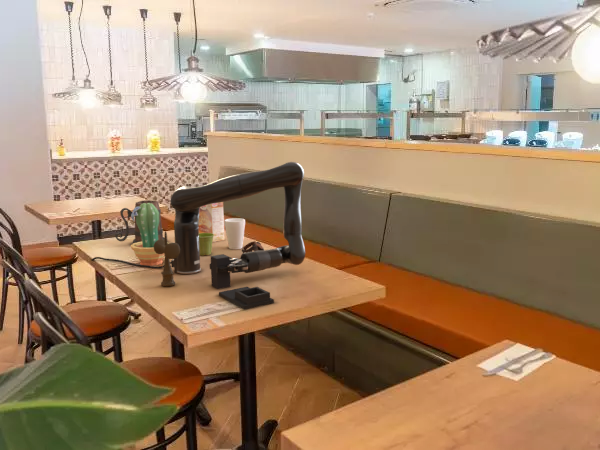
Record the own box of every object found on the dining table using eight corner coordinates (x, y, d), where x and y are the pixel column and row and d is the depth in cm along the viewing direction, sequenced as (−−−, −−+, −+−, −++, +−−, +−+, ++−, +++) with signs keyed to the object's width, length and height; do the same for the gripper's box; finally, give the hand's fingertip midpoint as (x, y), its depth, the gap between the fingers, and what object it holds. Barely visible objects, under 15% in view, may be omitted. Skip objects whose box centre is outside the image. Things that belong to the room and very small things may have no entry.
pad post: (211, 285, 207) (210, 256, 205) (224, 283, 210) (223, 254, 208) (217, 289, 203) (216, 258, 201) (230, 286, 206) (229, 256, 204)
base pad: (218, 295, 196) (218, 285, 195) (247, 289, 202) (247, 279, 202) (244, 309, 182) (243, 298, 181) (274, 302, 188) (273, 292, 188)
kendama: (166, 290, 201) (164, 234, 198) (154, 284, 208) (151, 230, 204) (182, 286, 205) (179, 232, 202) (169, 281, 212) (166, 228, 209)
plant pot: (188, 255, 251) (187, 236, 249) (201, 250, 259) (200, 232, 257) (206, 257, 247) (206, 237, 245) (219, 252, 256) (218, 233, 254)
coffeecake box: (196, 237, 287) (194, 198, 284) (209, 235, 292) (207, 197, 288) (212, 242, 277) (210, 202, 273) (225, 240, 281) (223, 200, 278)
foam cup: (226, 245, 270) (225, 218, 267) (246, 245, 270) (245, 218, 268) (224, 250, 260) (223, 222, 258) (244, 249, 261) (244, 221, 259)
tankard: (162, 237, 285) (160, 198, 281) (171, 244, 271) (169, 202, 267) (113, 243, 274) (110, 201, 270) (119, 250, 259) (116, 206, 256)
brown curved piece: (266, 262, 242) (255, 246, 239) (247, 270, 244) (236, 255, 241) (270, 248, 253) (261, 233, 250) (252, 256, 255) (243, 242, 252)
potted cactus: (144, 257, 247) (140, 199, 242) (177, 259, 244) (174, 201, 239) (124, 266, 232) (120, 205, 227) (159, 268, 229) (155, 207, 224)
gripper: (245, 247, 218) (204, 254, 208) (265, 255, 207) (222, 262, 197) (246, 267, 220) (205, 274, 210) (265, 275, 209) (223, 283, 199)
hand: (213, 268), depth 203 cm, fingers closed on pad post, 5 cm apart
